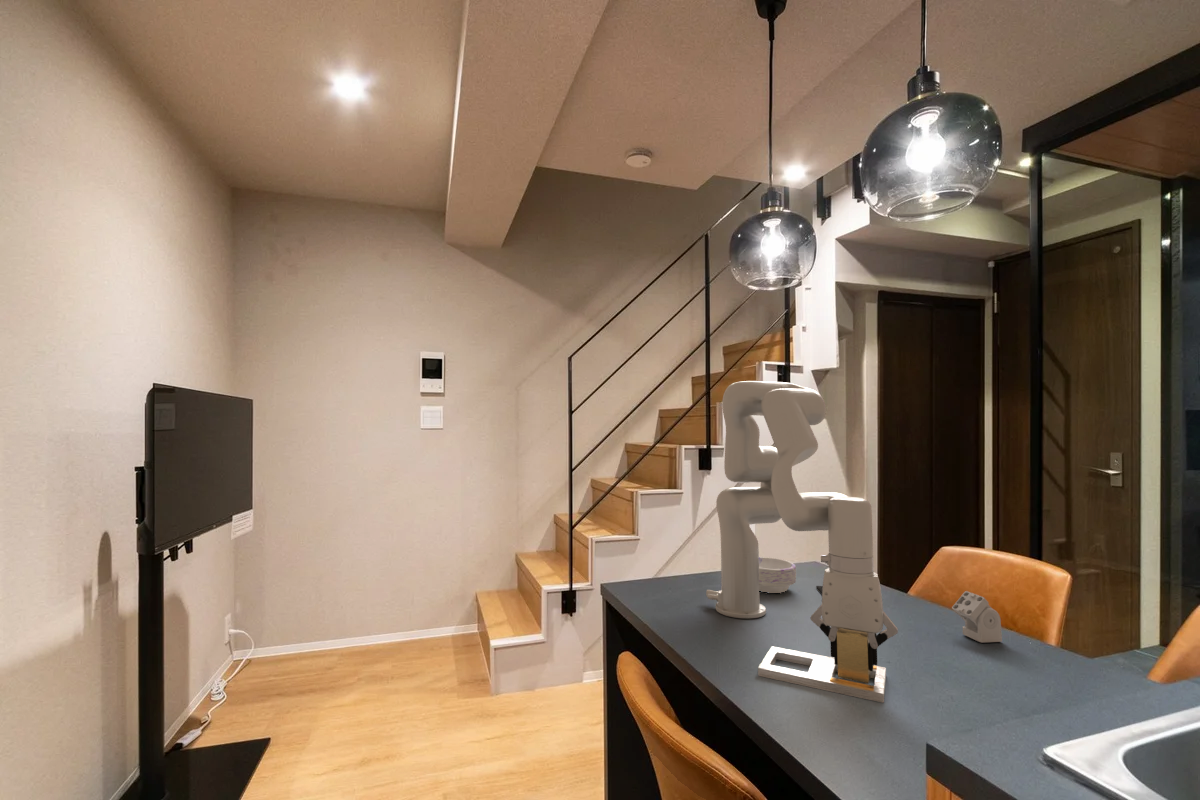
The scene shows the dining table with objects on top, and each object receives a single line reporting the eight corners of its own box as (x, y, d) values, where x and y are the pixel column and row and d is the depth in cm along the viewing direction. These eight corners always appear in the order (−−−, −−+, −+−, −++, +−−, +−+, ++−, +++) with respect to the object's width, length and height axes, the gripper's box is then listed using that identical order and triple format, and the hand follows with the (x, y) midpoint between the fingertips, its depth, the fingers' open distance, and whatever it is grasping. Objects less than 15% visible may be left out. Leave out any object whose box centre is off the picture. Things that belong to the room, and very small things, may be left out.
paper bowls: (797, 599, 150) (796, 570, 151) (740, 594, 155) (740, 566, 156) (795, 585, 165) (795, 558, 165) (744, 580, 169) (743, 555, 170)
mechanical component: (1003, 643, 119) (1000, 596, 120) (970, 644, 118) (968, 597, 119) (983, 634, 124) (981, 589, 125) (951, 635, 123) (950, 590, 124)
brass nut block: (838, 677, 99) (836, 632, 99) (840, 667, 103) (839, 624, 104) (868, 683, 96) (867, 637, 97) (870, 672, 101) (868, 628, 101)
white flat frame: (758, 675, 102) (758, 666, 102) (772, 653, 113) (771, 645, 113) (883, 702, 92) (883, 692, 92) (886, 675, 102) (885, 666, 103)
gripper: (799, 563, 102) (801, 662, 101) (903, 574, 94) (907, 683, 92) (805, 555, 109) (808, 649, 107) (903, 565, 100) (907, 667, 99)
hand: (854, 663), depth 100 cm, fingers closed on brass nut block, 5 cm apart
